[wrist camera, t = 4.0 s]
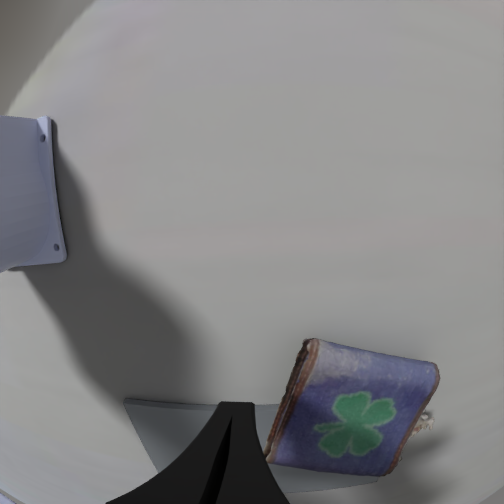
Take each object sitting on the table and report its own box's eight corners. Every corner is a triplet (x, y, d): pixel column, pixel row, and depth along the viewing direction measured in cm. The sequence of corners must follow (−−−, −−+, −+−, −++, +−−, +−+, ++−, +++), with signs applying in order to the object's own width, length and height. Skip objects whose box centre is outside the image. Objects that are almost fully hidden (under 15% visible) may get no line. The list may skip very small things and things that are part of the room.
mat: (125, 398, 20) (122, 403, 19) (401, 388, 18) (404, 394, 17) (167, 481, 22) (166, 485, 22) (375, 476, 21) (376, 481, 20)
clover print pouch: (309, 344, 15) (466, 372, 14) (304, 328, 18) (445, 357, 17) (260, 471, 15) (404, 482, 14) (262, 445, 18) (393, 460, 17)
